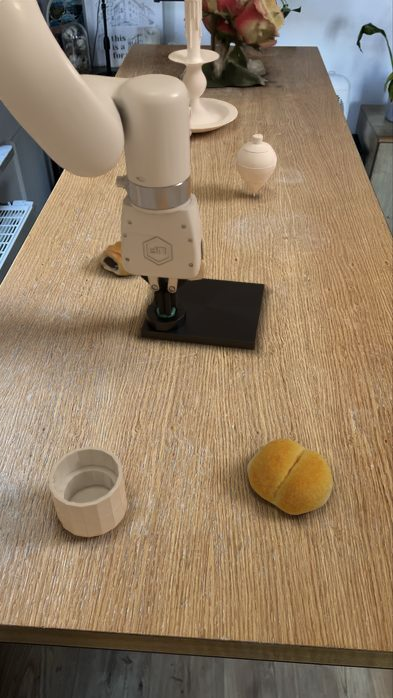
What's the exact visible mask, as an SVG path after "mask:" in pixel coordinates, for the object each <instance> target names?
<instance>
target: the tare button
mask: <svg viewBox="0 0 393 698" xmlns="http://www.w3.org/2000/svg"><path fill="white" fill-rule="evenodd" d="M157 315H158V316H159V317H165V318H167V317H172V316H173V315H175V308H173V311H172V314H171V316H167V314H163V315H159V307H158V308H157Z"/></svg>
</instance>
